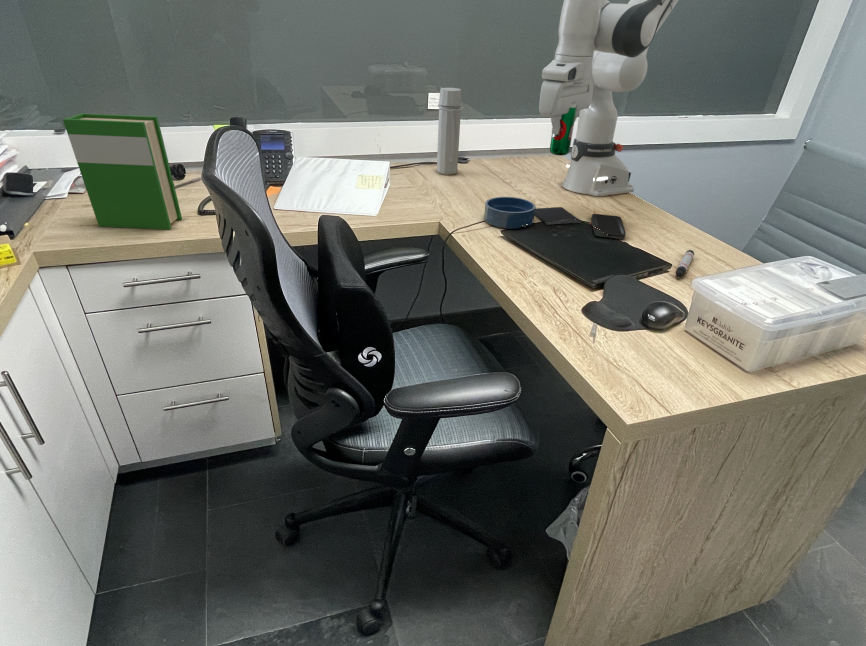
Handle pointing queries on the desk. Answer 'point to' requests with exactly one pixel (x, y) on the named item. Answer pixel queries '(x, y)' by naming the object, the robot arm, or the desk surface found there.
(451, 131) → the water bottle
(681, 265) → the marker
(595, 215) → the phone
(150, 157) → the hardback book
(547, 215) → the black flat square pad
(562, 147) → the soda can
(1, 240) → the desk surface
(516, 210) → the dish
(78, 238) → the desk surface
